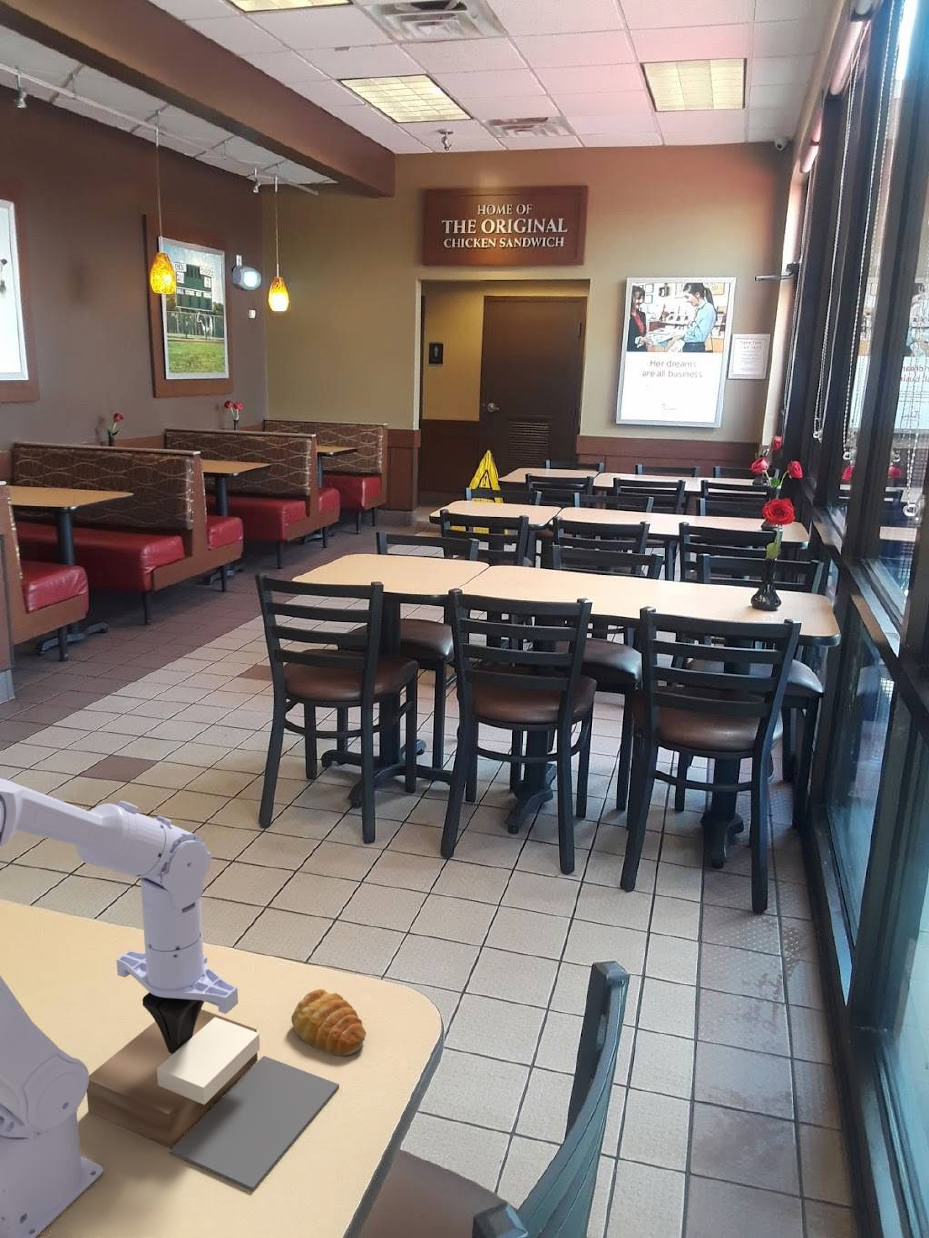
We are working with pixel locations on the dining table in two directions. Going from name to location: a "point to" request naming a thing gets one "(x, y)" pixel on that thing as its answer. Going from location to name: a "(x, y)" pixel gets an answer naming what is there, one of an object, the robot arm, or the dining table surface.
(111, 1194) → the dining table surface
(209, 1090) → the block
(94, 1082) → the brown wooden block
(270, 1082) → the mat
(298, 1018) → the pastry
